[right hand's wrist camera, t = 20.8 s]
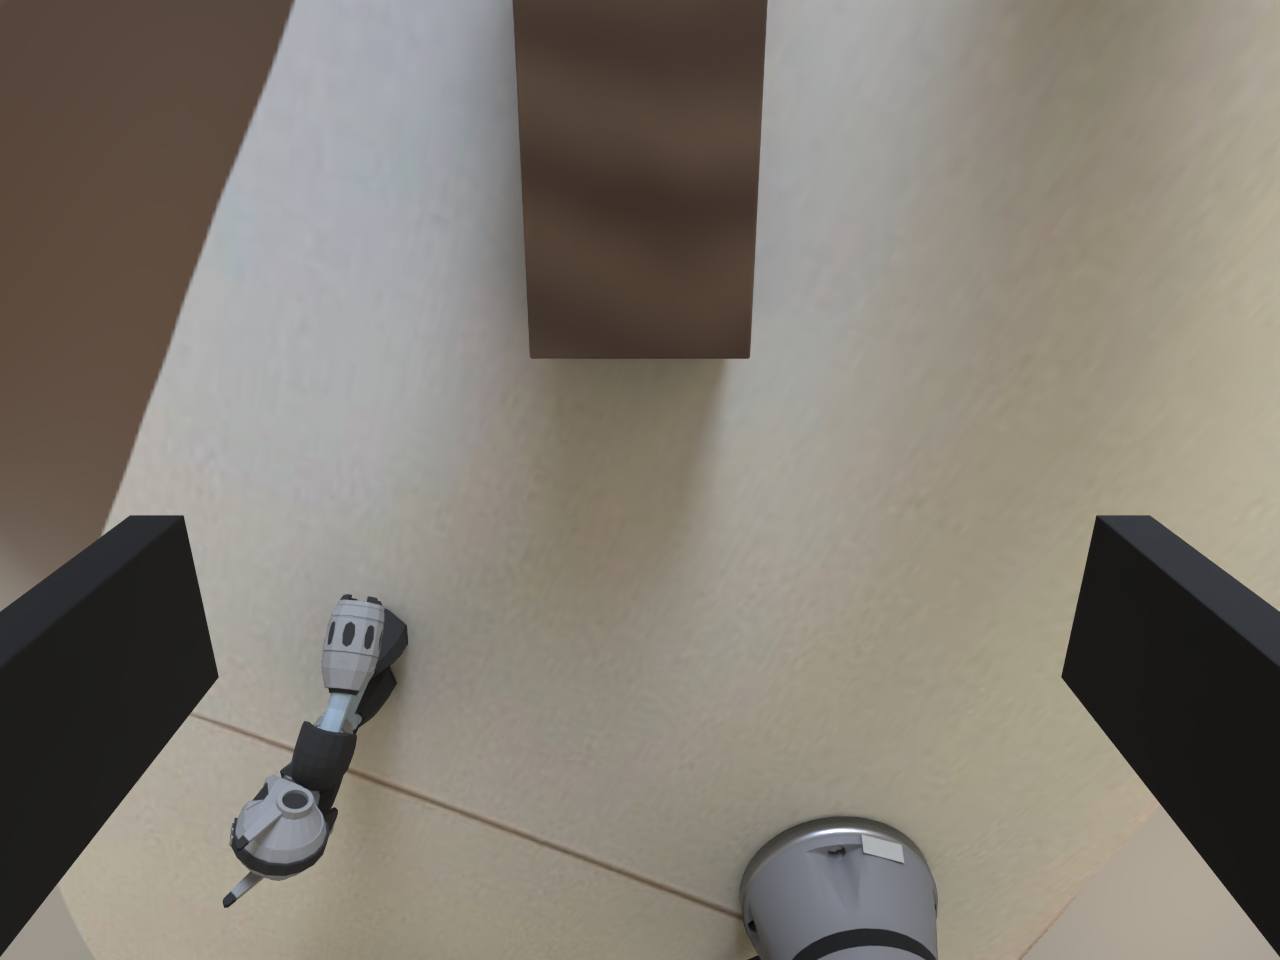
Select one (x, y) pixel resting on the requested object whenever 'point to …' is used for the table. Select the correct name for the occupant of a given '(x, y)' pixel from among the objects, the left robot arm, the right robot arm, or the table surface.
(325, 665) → the robot
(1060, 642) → the table surface
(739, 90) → the cabinet
